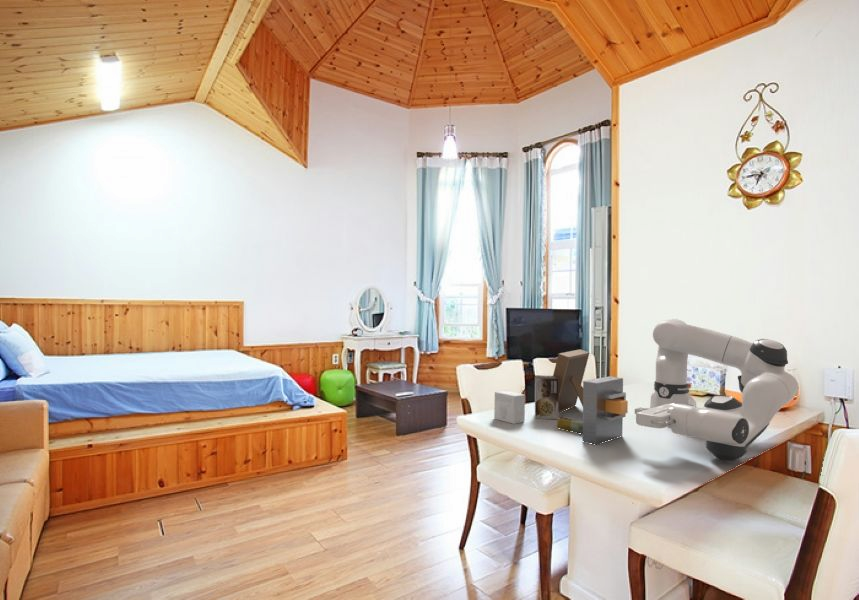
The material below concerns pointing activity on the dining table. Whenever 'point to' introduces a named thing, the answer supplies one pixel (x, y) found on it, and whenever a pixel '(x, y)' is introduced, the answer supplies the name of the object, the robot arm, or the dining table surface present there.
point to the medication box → (570, 425)
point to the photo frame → (570, 377)
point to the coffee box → (546, 397)
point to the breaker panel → (601, 409)
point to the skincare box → (509, 407)
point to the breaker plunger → (616, 406)
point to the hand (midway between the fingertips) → (636, 410)
